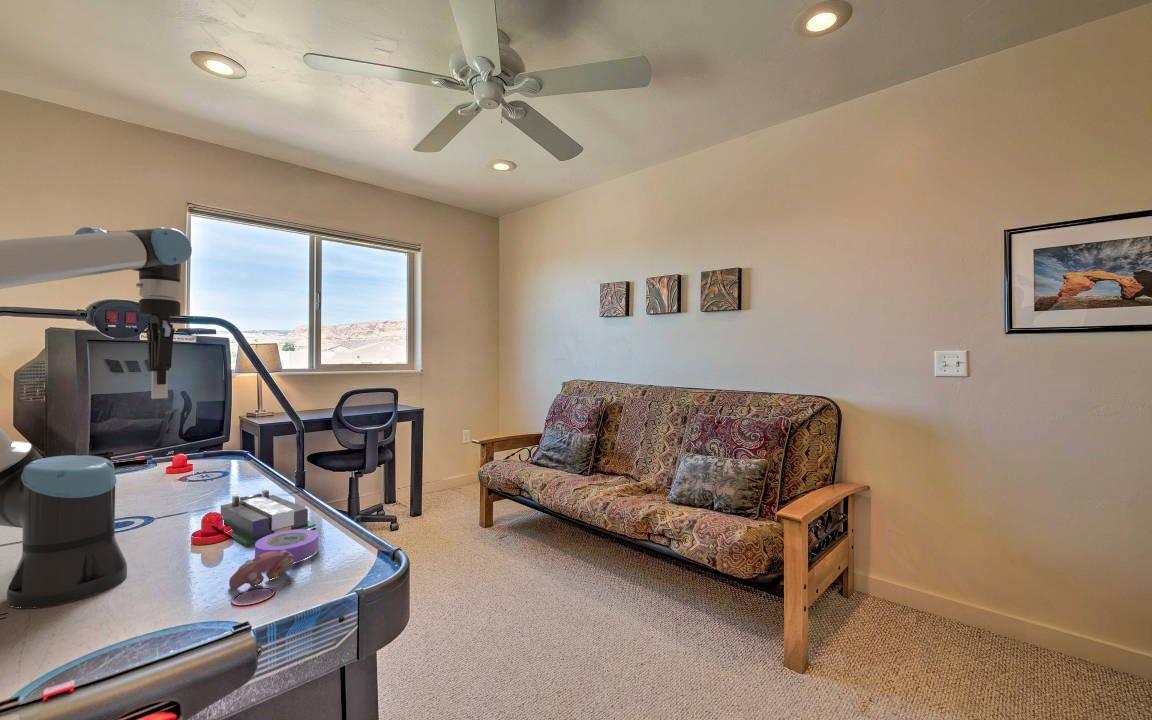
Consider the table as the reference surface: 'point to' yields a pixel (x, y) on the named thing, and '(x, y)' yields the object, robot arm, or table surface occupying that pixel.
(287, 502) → the grey box device
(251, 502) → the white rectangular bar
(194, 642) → the table surface
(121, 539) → the table surface
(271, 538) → the masking tape
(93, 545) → the robot arm
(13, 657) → the table surface
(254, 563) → the video game controller
